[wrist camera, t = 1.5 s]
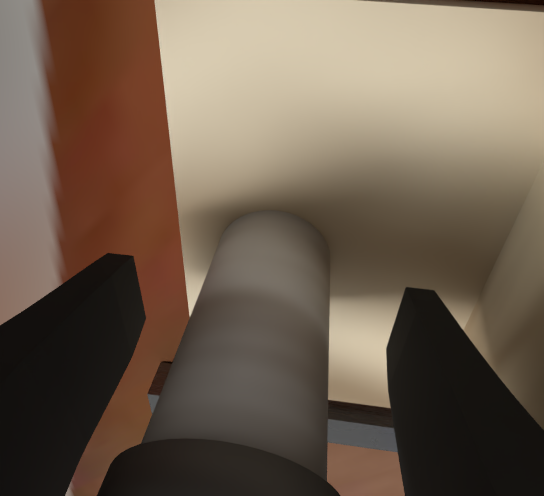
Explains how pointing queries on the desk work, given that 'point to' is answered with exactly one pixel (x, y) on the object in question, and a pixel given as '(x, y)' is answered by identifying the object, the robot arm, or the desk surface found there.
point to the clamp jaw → (338, 220)
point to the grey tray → (329, 419)
